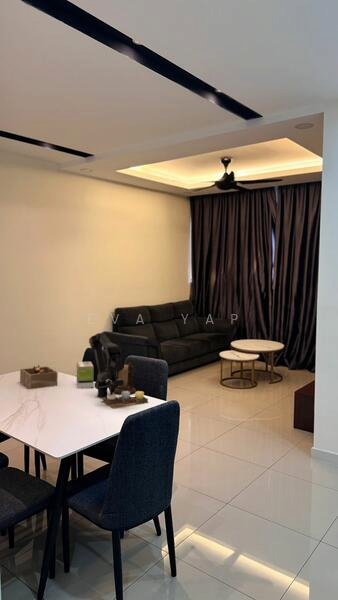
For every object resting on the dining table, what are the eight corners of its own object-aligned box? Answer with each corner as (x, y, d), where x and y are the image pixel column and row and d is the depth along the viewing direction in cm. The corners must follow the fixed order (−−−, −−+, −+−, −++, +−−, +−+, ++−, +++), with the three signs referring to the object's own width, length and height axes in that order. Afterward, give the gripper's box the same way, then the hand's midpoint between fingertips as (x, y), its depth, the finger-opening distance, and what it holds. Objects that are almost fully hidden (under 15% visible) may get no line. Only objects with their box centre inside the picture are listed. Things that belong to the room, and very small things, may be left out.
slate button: (119, 398, 240) (119, 391, 240) (126, 397, 243) (127, 390, 242) (123, 400, 236) (124, 393, 236) (131, 399, 239) (131, 392, 238)
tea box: (76, 383, 283) (76, 361, 282) (90, 382, 286) (91, 361, 285) (78, 388, 269) (78, 366, 268) (93, 388, 272) (94, 365, 271)
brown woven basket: (108, 395, 255) (109, 363, 254) (117, 389, 270) (118, 359, 269) (131, 398, 252) (132, 365, 251) (138, 391, 266) (139, 360, 265)
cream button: (105, 401, 239) (105, 393, 239) (112, 399, 242) (113, 392, 242) (109, 403, 235) (109, 395, 235) (116, 401, 238) (117, 394, 238)
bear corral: (20, 382, 280) (20, 369, 279) (47, 379, 291) (47, 366, 290) (29, 389, 264) (29, 375, 263) (57, 385, 275) (57, 372, 274)
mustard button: (133, 398, 241) (133, 391, 240) (140, 397, 243) (140, 390, 243) (138, 400, 237) (138, 393, 237) (145, 399, 240) (145, 392, 239)
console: (100, 403, 239) (100, 397, 239) (134, 397, 252) (134, 392, 252) (113, 410, 226) (113, 404, 226) (148, 404, 239) (149, 398, 239)
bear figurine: (33, 387, 268) (34, 369, 268) (27, 382, 280) (27, 364, 280) (54, 385, 276) (54, 367, 275) (47, 380, 288) (47, 363, 288)
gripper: (92, 365, 240) (91, 392, 241) (107, 372, 225) (106, 400, 226) (109, 363, 247) (108, 389, 248) (124, 370, 232) (124, 397, 233)
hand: (111, 394), depth 238 cm, fingers closed, pressing on cream button
